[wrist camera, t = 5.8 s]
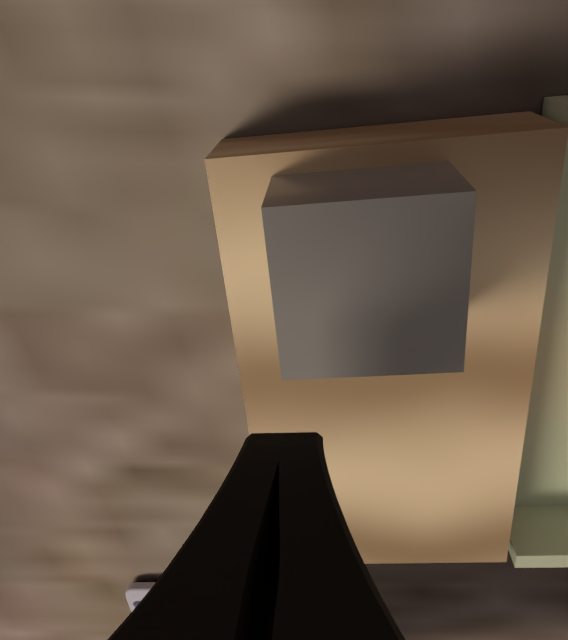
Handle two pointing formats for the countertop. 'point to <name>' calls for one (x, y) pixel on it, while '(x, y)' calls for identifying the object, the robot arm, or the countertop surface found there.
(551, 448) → the box
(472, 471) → the birch plate
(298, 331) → the slate tile
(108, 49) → the countertop surface
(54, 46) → the countertop surface
